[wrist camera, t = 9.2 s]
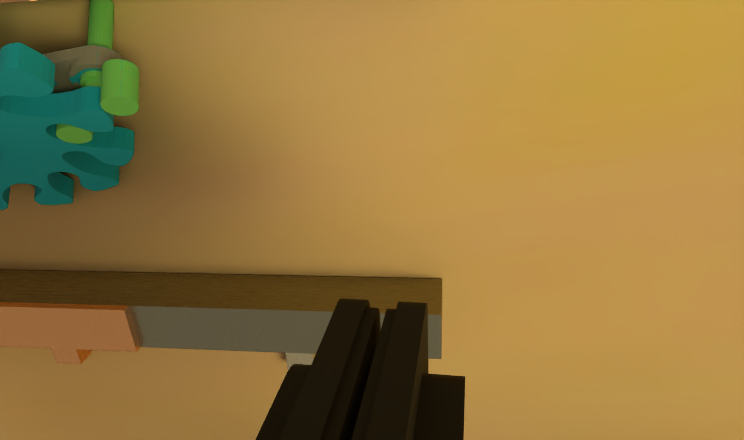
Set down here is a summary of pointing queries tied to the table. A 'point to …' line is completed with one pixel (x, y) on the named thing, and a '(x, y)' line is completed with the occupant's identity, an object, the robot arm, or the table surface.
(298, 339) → the rail
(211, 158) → the table surface
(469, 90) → the table surface
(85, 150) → the gear
